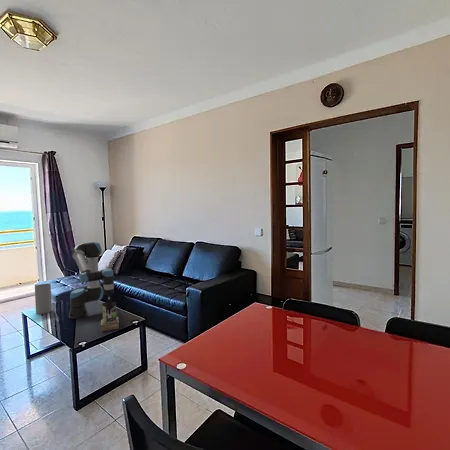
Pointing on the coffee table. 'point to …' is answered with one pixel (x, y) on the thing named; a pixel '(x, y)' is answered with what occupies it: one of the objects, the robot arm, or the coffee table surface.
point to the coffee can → (105, 312)
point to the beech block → (109, 325)
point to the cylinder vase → (43, 298)
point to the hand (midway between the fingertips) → (109, 315)
